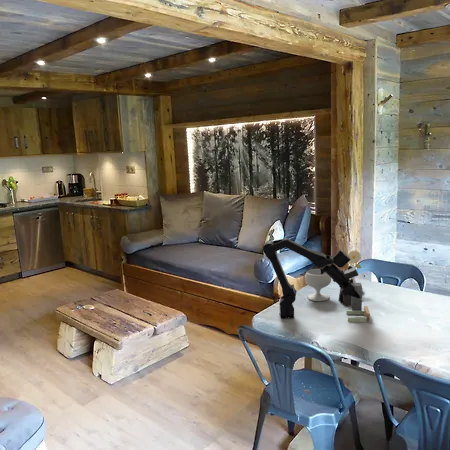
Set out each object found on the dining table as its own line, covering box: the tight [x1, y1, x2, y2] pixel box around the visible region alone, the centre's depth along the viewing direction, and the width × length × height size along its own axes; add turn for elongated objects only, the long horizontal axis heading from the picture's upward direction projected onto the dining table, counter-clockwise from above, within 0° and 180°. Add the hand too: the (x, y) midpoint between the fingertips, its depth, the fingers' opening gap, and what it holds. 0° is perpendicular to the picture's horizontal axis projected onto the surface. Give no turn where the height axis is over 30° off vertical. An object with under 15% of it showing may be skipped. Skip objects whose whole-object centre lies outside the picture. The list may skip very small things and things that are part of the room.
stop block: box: [350, 282, 363, 311], centre depth 208 cm, size 4×4×12 cm
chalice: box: [304, 268, 332, 302], centre depth 237 cm, size 14×14×15 cm
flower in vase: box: [347, 249, 364, 292], centre depth 241 cm, size 13×11×25 cm
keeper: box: [345, 305, 371, 323], centre depth 209 cm, size 10×10×4 cm
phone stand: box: [338, 287, 351, 308], centre depth 227 cm, size 9×6×12 cm, turn 7°
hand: (359, 296), depth 207 cm, fingers closed on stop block, 4 cm apart
